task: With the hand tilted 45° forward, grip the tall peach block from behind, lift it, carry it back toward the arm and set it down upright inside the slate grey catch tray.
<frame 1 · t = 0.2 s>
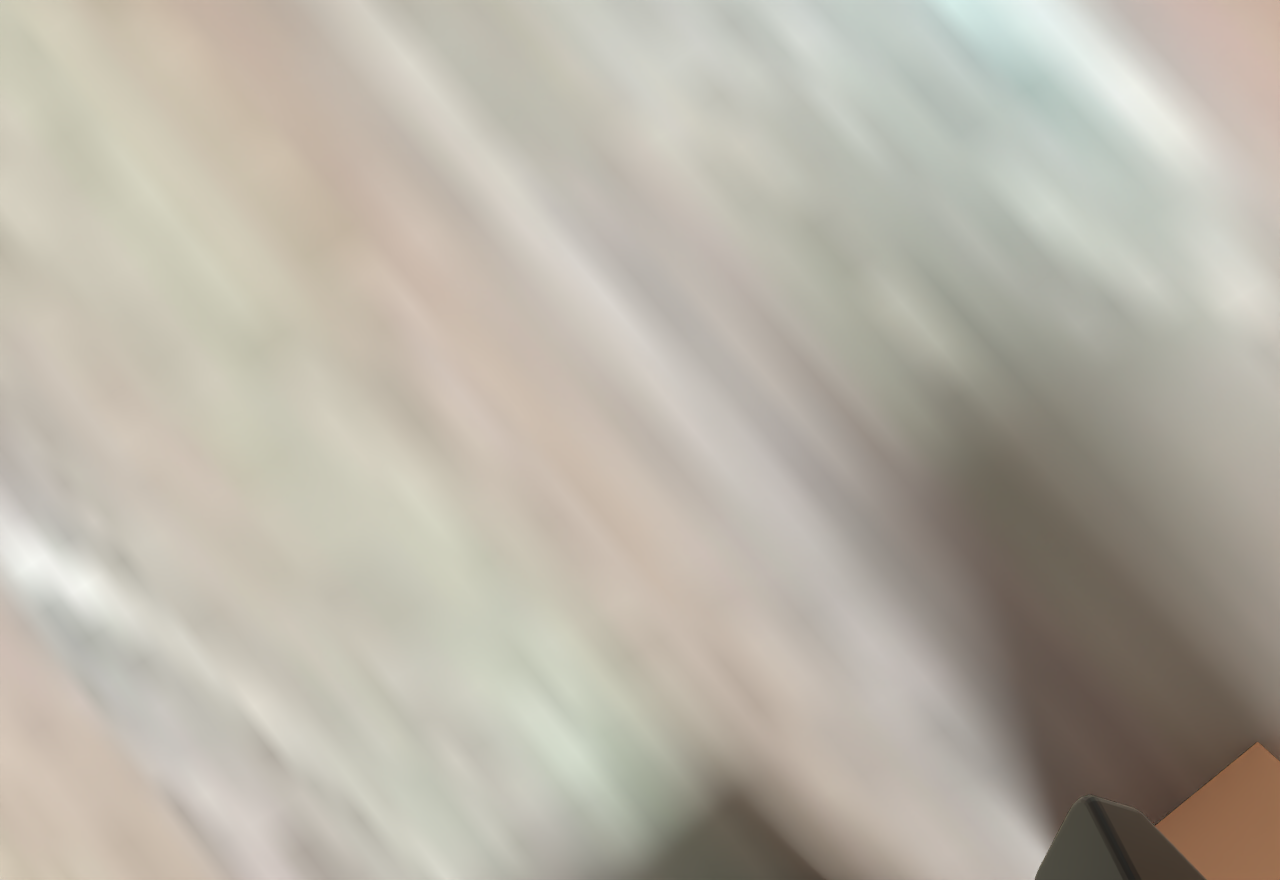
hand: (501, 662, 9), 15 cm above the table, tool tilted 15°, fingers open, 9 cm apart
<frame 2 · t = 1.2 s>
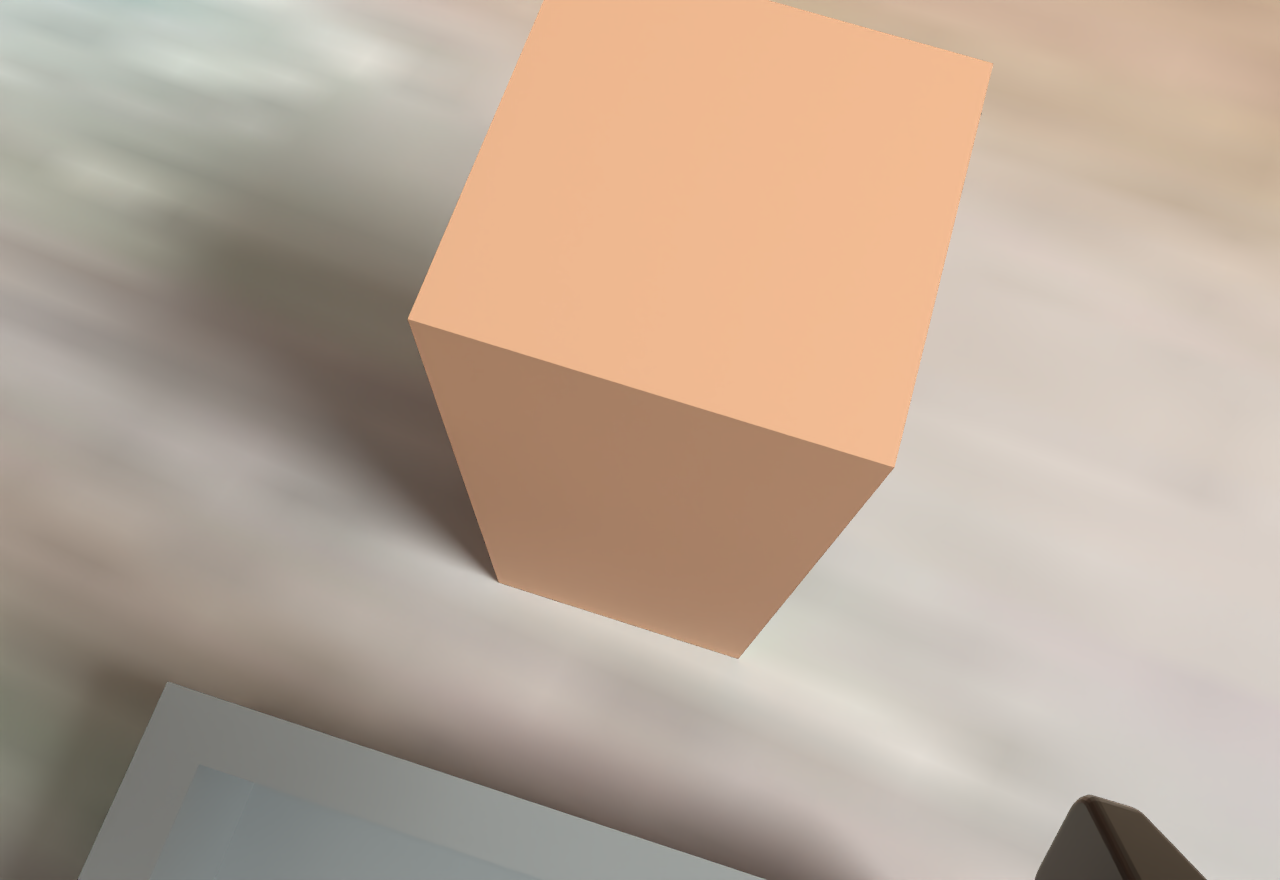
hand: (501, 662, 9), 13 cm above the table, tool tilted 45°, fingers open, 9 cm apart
peach block: (654, 505, 23), on the table
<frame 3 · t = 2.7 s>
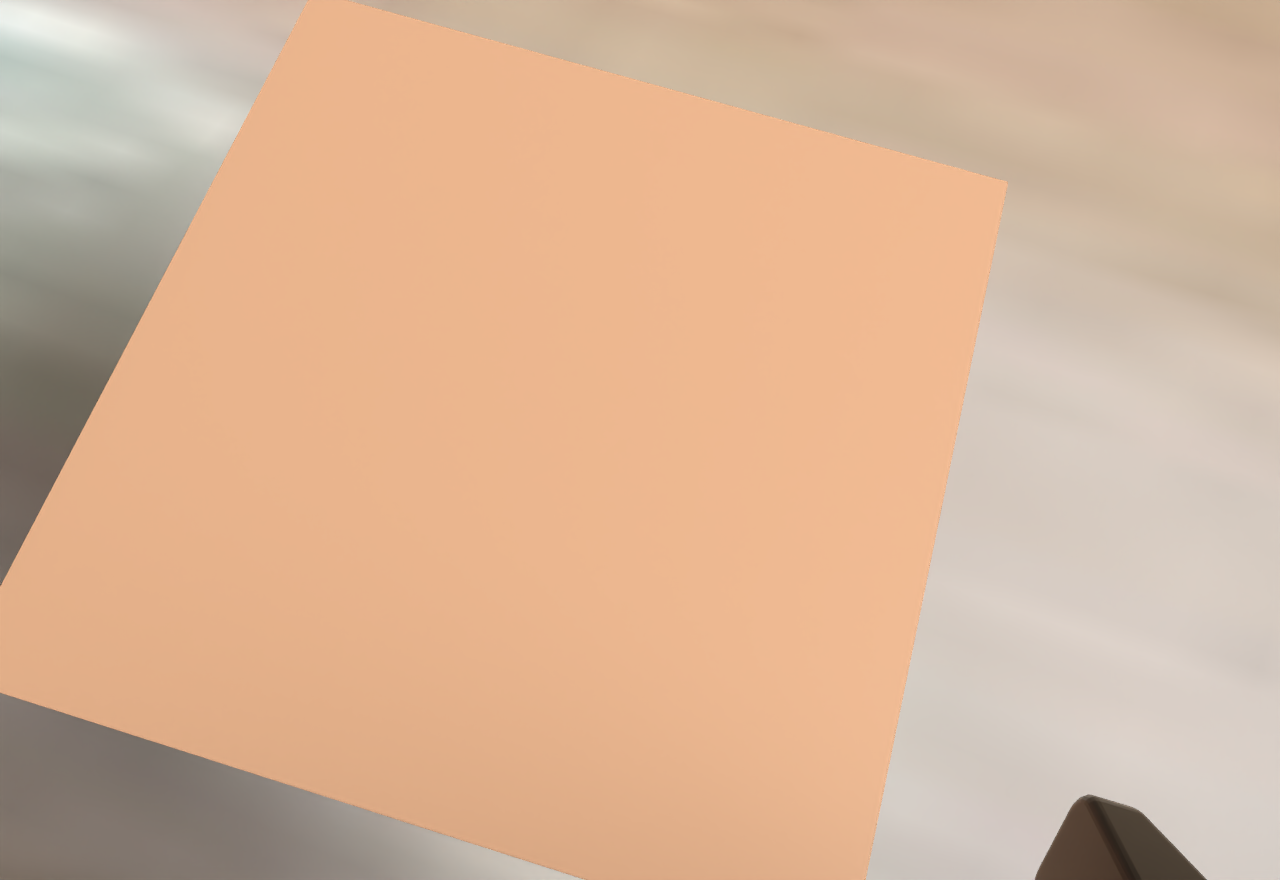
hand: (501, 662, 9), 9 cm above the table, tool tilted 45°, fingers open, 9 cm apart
peach block: (564, 697, 18), on the table
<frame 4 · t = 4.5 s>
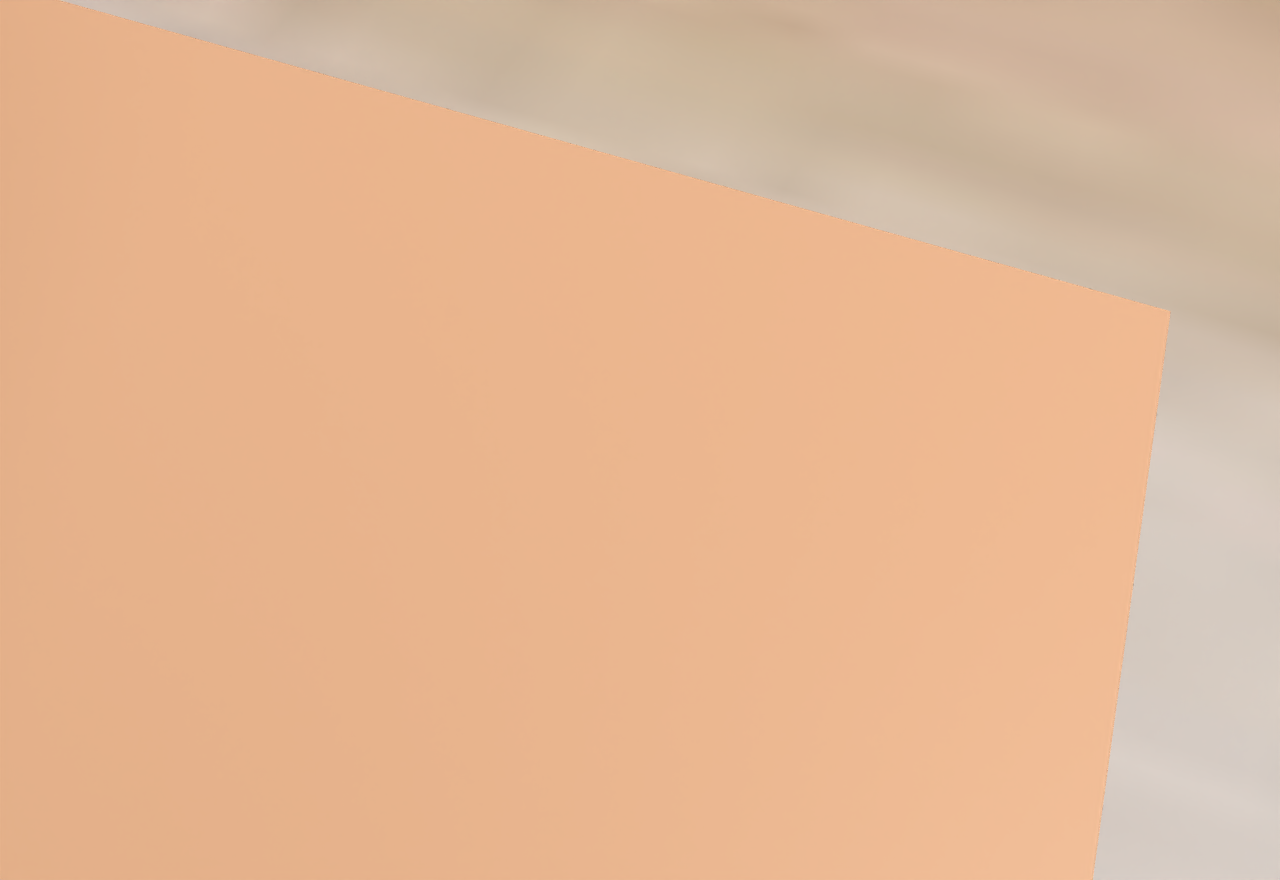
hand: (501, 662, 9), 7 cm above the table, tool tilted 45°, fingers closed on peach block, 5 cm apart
peach block: (500, 854, 14), on the table, touching gripper
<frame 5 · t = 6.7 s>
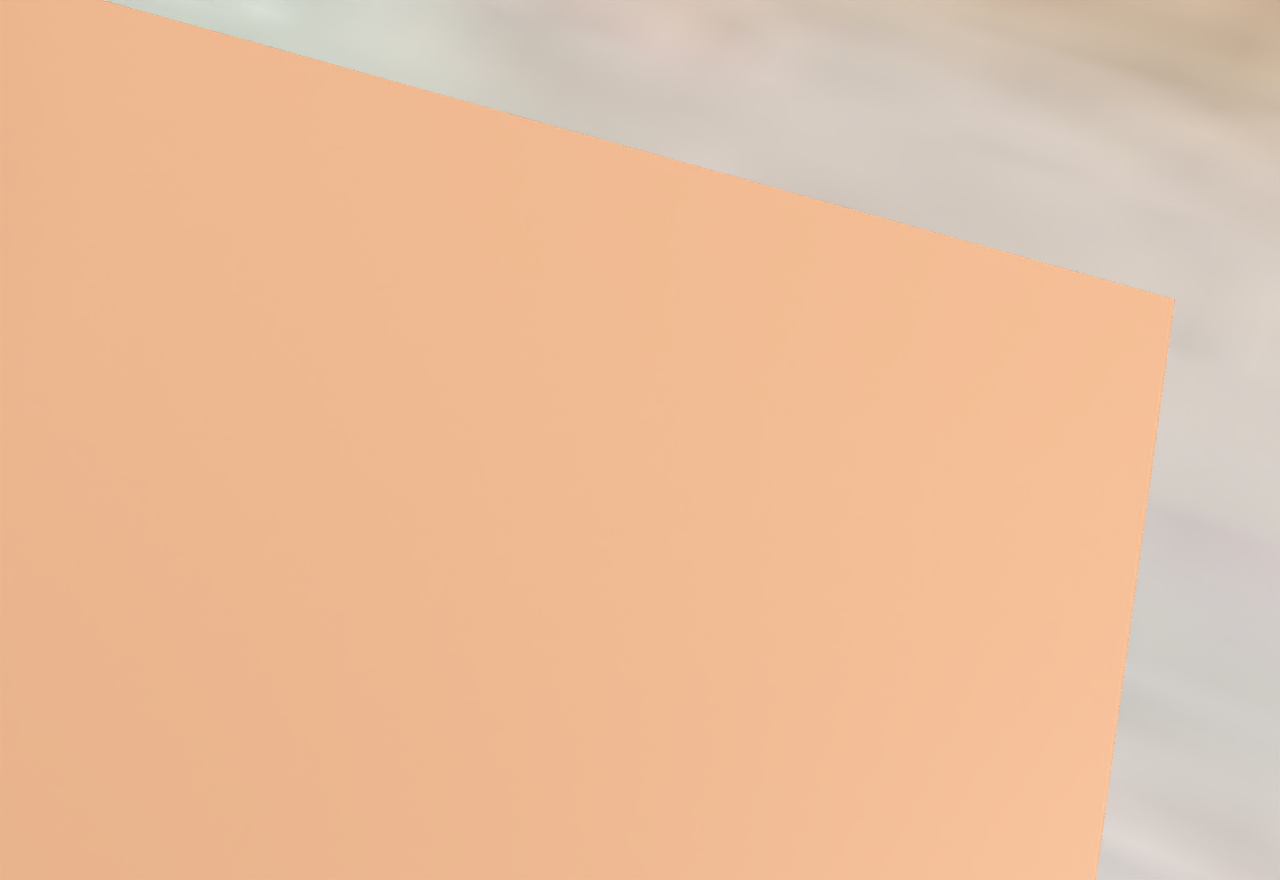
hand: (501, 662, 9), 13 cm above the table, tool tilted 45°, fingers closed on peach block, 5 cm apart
peach block: (500, 851, 14), point 6 cm above the table, touching gripper
when the fingers open (9 cm above the table, at t = 8.9 s): peach block drops 2 cm, resting on catch tray.
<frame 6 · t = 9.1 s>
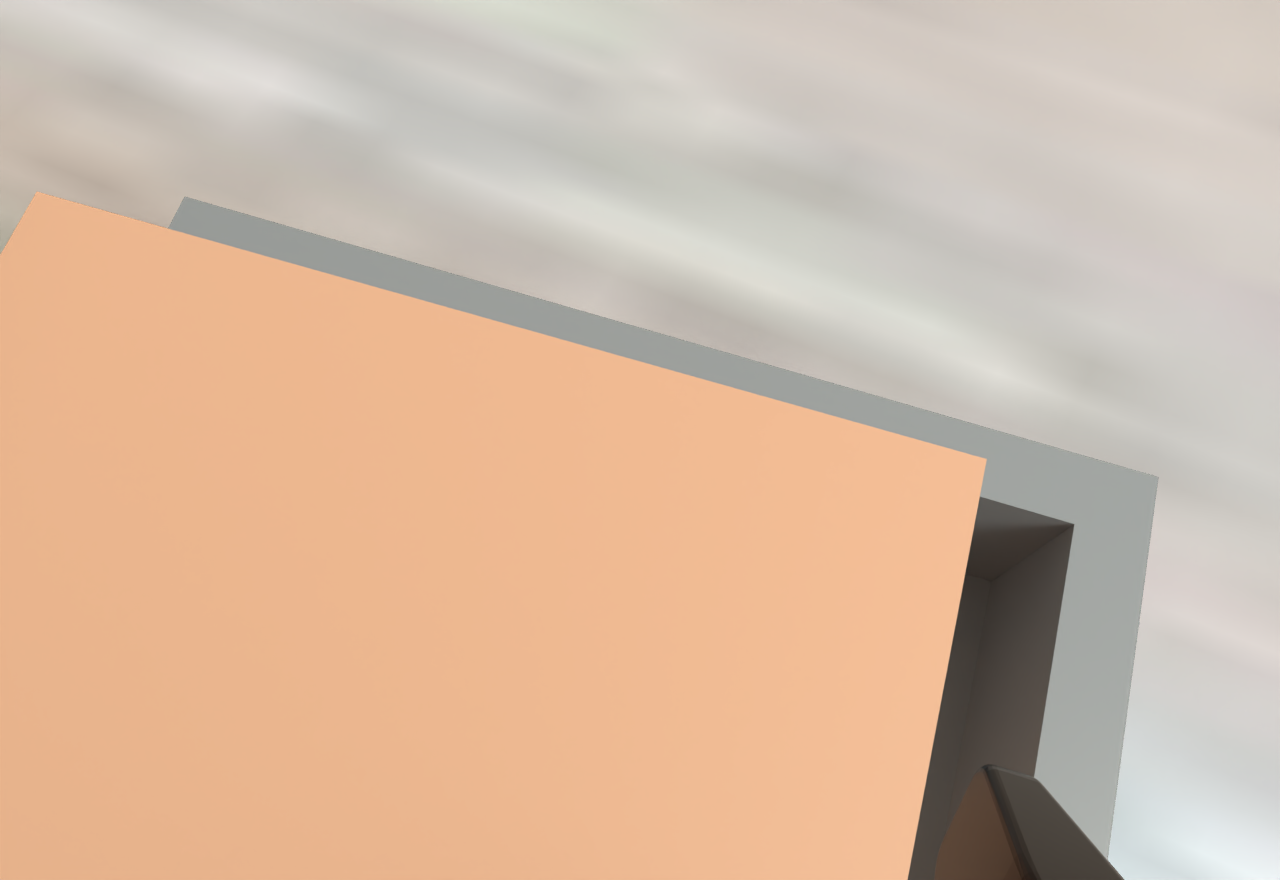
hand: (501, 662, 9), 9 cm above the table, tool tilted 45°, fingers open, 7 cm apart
catch tray: (511, 854, 17), on the table
peach block: (507, 855, 16), point 1 cm above the table, touching catch tray
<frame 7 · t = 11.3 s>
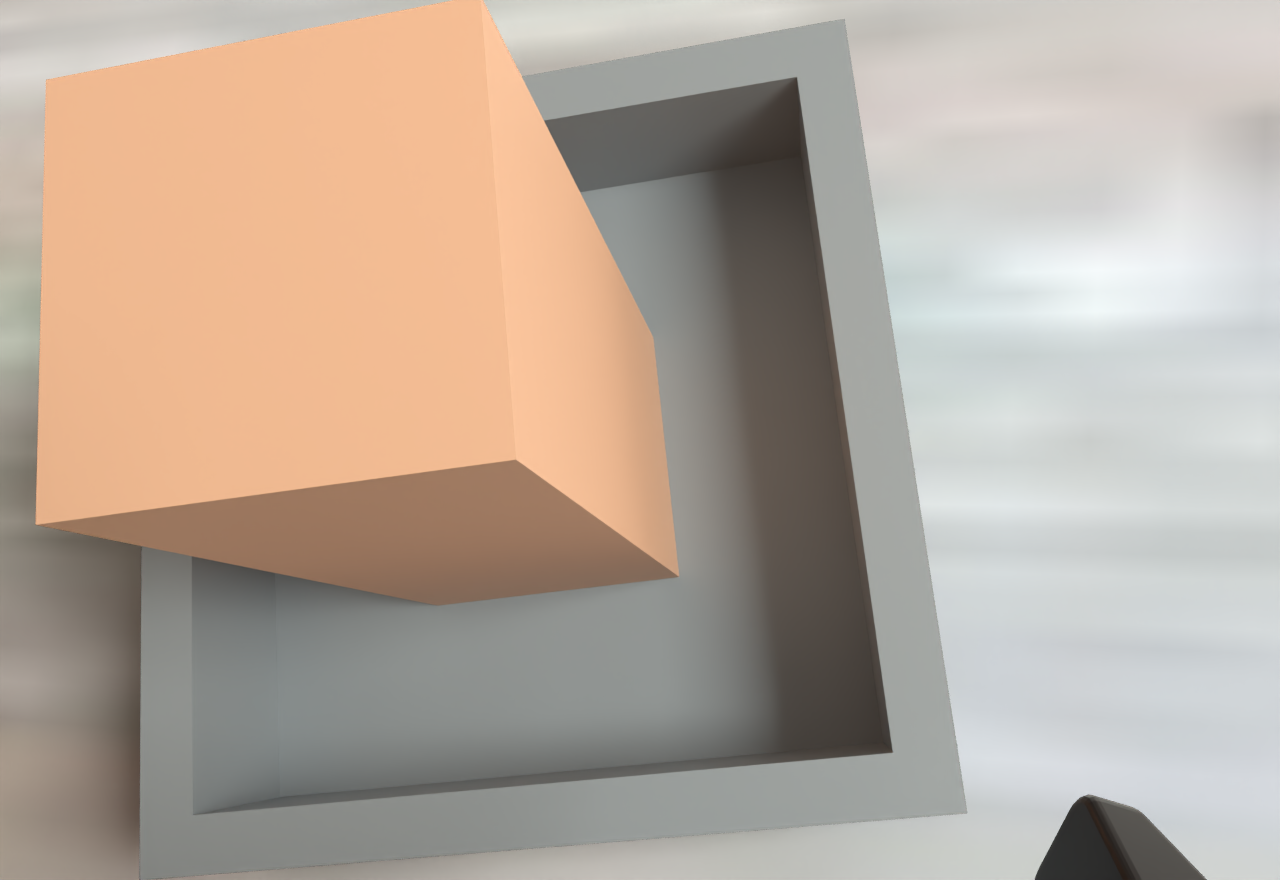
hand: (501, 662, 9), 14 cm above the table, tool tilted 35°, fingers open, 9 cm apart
catch tray: (555, 476, 24), on the table
peach block: (546, 470, 23), point 1 cm above the table, touching catch tray
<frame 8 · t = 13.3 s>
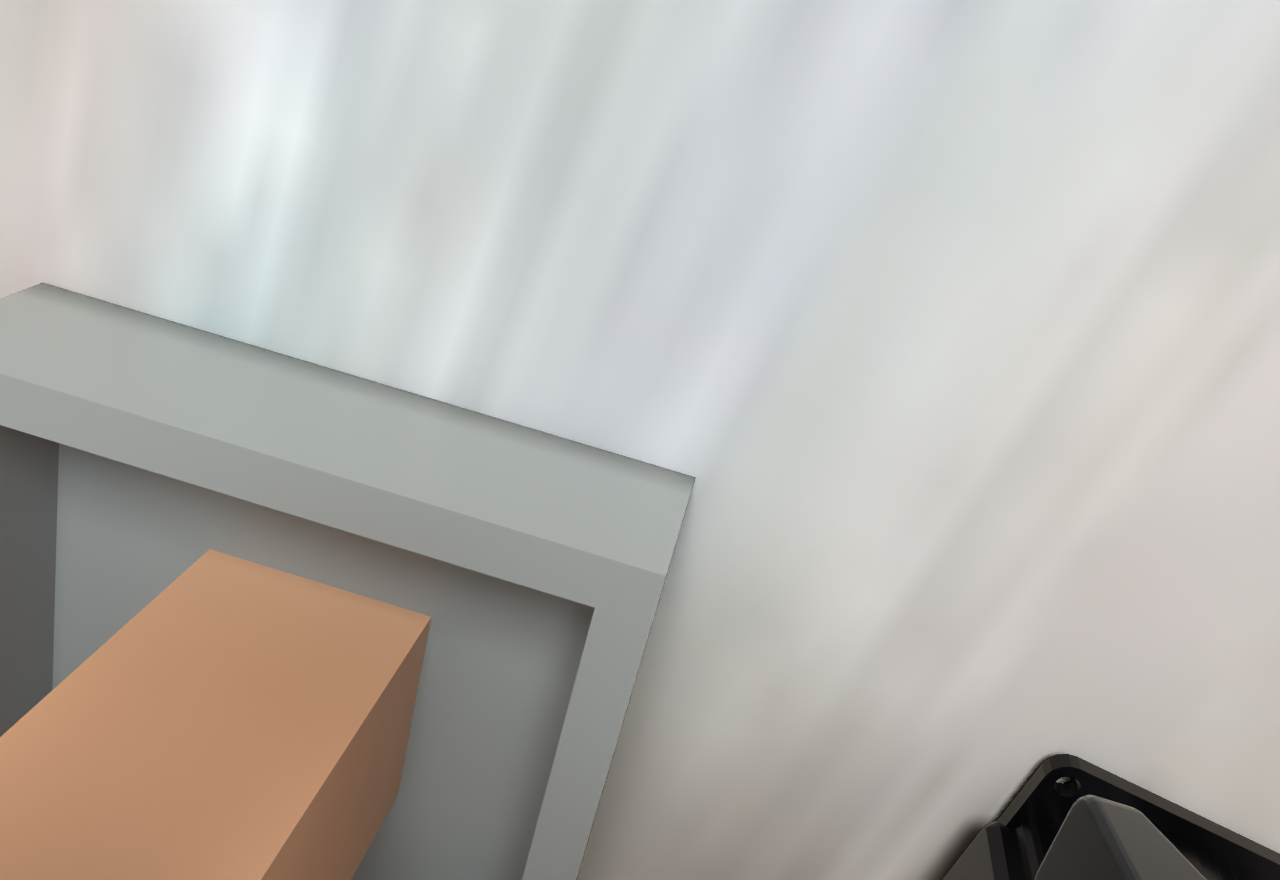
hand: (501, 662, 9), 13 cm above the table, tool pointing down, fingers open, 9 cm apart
catch tray: (321, 656, 25), on the table
peach block: (306, 676, 25), point 1 cm above the table, touching catch tray
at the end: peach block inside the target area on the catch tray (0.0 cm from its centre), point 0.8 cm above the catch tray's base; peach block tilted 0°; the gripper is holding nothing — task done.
